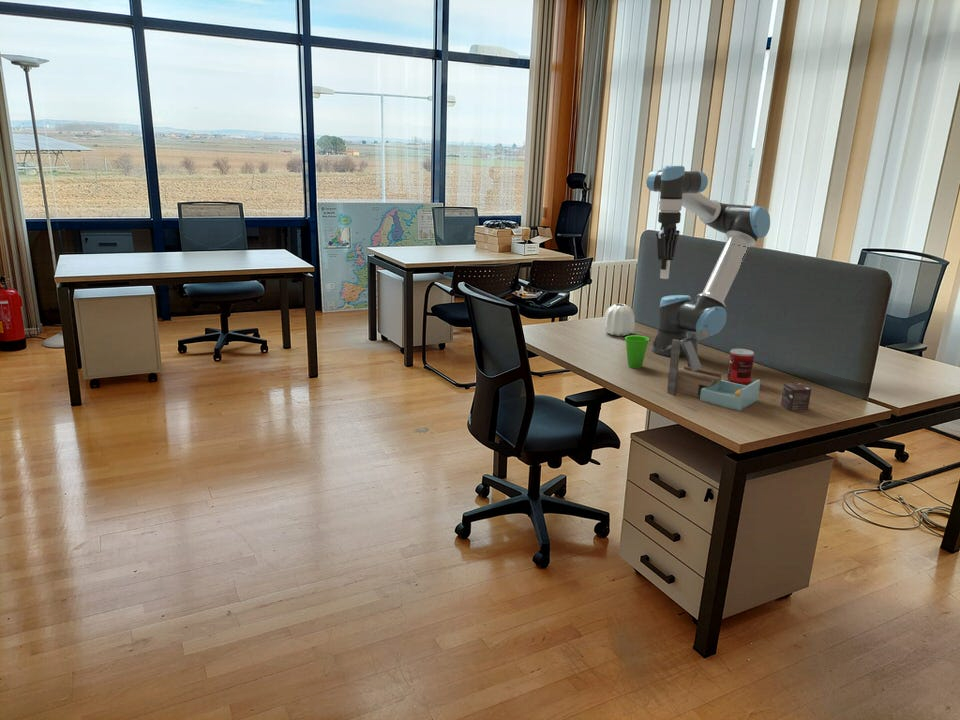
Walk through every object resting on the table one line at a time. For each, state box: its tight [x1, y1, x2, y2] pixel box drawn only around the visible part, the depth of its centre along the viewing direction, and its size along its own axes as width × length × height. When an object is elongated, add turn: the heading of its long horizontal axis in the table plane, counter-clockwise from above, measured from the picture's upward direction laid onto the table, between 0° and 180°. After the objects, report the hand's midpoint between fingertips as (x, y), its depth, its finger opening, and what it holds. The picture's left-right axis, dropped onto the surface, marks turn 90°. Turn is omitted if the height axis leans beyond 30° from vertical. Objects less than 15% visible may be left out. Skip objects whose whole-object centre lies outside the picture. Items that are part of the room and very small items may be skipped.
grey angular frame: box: [667, 331, 723, 398], centre depth 229 cm, size 14×15×18 cm
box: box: [780, 382, 812, 412], centre depth 216 cm, size 6×6×7 cm
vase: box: [602, 303, 636, 337], centre depth 304 cm, size 14×14×13 cm
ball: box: [734, 389, 741, 397], centre depth 220 cm, size 4×4×4 cm
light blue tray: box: [699, 379, 761, 412], centre depth 222 cm, size 14×14×7 cm
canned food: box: [727, 348, 755, 385], centre depth 241 cm, size 8×8×11 cm
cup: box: [624, 334, 651, 369], centre depth 257 cm, size 9×9×11 cm
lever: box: [653, 328, 711, 371], centre depth 230 cm, size 11×19×12 cm
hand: (664, 278), depth 245 cm, fingers closed
